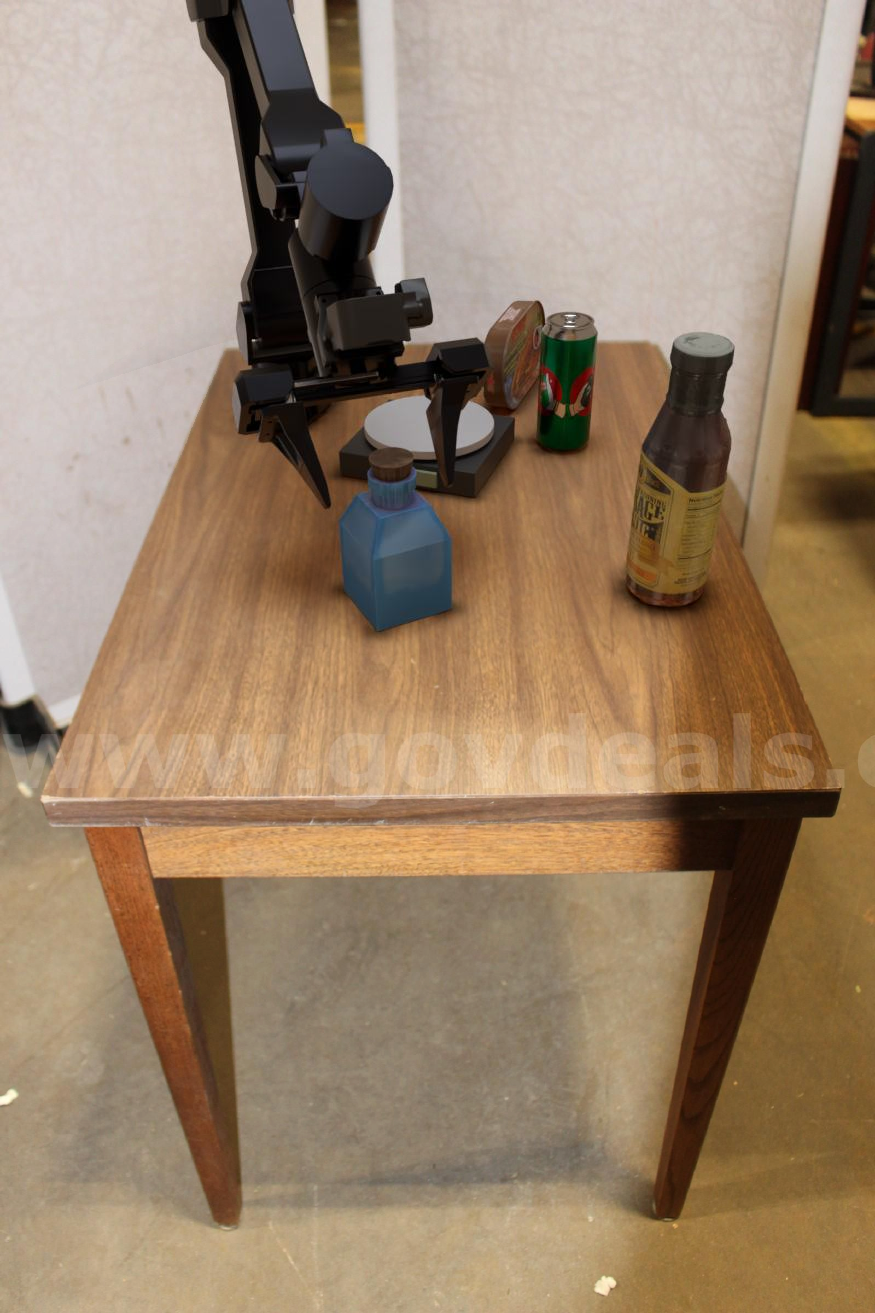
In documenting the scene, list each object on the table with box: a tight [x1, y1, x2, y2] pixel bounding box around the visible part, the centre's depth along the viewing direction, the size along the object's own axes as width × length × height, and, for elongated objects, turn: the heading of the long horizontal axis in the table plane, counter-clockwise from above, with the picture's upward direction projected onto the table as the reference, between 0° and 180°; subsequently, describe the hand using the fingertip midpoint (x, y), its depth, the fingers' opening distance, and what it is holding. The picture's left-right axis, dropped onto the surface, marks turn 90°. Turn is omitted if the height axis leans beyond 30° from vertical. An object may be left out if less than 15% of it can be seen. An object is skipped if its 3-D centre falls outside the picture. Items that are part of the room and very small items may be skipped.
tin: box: [483, 299, 546, 410], centre depth 110 cm, size 15×3×8 cm, turn 160°
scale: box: [338, 394, 516, 498], centre depth 99 cm, size 13×12×4 cm
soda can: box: [535, 311, 599, 453], centre depth 99 cm, size 5×5×12 cm
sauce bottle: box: [625, 331, 736, 608], centre depth 76 cm, size 6×6×20 cm
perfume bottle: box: [338, 447, 453, 633], centre depth 78 cm, size 6×6×12 cm
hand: (389, 496), depth 77 cm, fingers open, 9 cm apart
